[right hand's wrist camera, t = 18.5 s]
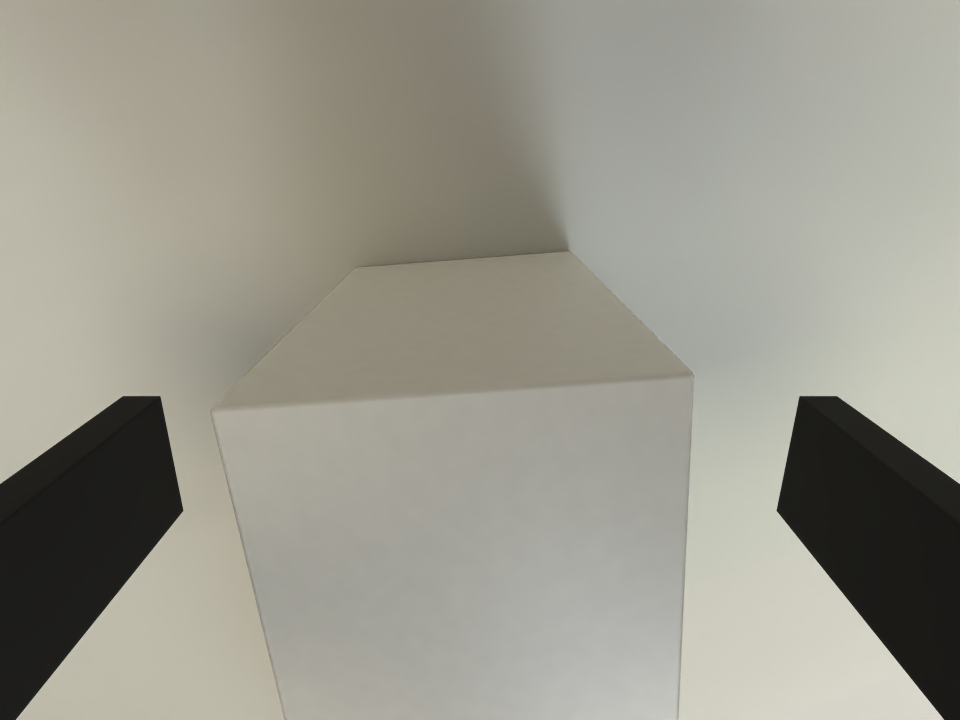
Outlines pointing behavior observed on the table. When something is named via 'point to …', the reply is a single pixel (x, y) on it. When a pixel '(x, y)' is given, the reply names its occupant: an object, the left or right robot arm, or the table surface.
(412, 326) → the box
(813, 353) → the table surface
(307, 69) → the table surface
